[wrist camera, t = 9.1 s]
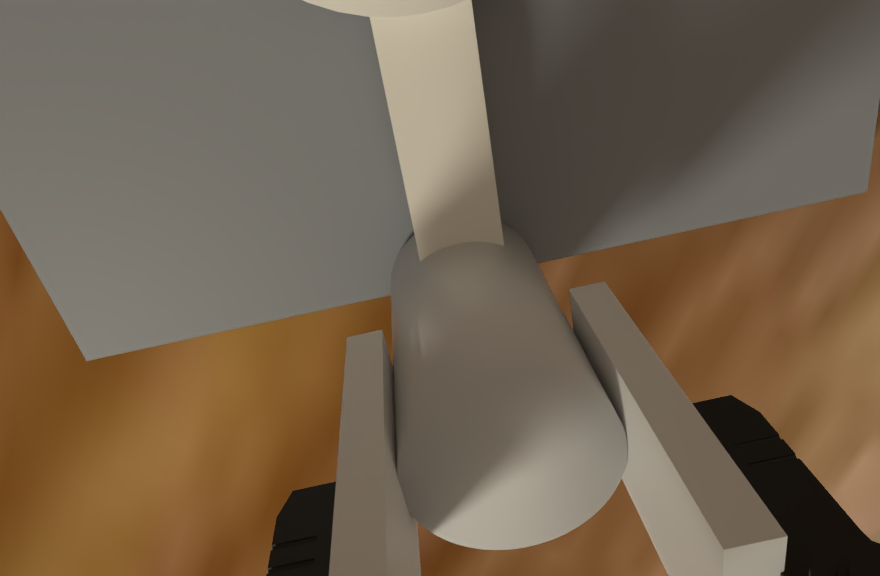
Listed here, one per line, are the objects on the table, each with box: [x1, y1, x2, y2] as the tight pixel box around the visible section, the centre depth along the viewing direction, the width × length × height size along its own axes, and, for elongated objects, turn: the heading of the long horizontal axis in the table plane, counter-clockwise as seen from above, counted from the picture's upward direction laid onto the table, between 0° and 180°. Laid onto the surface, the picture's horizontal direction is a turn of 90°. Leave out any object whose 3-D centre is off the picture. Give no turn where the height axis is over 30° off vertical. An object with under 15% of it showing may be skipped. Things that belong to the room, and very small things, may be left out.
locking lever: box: [303, 0, 628, 550], centre depth 11 cm, size 17×8×7 cm, turn 10°
